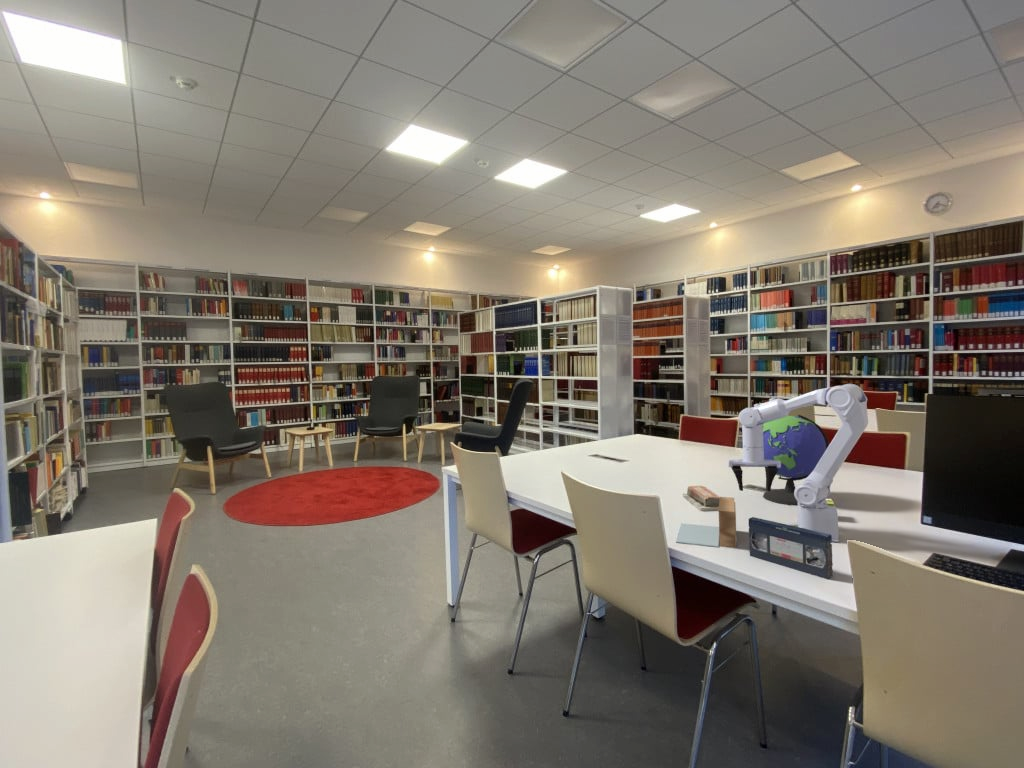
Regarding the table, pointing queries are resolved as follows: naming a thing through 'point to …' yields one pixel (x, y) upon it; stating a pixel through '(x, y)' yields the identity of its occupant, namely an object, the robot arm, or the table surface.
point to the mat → (698, 535)
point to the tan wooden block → (727, 522)
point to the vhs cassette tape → (791, 547)
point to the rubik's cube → (830, 502)
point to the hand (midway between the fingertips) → (754, 490)
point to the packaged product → (702, 498)
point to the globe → (792, 452)
